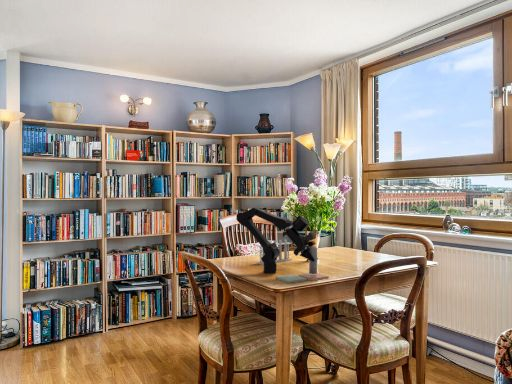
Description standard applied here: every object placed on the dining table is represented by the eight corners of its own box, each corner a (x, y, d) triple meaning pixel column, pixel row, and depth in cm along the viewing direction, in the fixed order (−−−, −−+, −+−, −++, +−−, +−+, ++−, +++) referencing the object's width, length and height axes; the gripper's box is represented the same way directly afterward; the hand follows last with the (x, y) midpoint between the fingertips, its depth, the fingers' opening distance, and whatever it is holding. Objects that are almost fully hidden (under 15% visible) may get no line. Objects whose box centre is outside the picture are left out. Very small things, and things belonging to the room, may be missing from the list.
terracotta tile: (312, 280, 196) (312, 278, 196) (298, 276, 206) (298, 274, 206) (328, 278, 202) (328, 276, 202) (314, 274, 211) (314, 272, 211)
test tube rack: (287, 259, 256) (287, 238, 256) (292, 260, 252) (292, 239, 252) (256, 263, 241) (256, 241, 240) (261, 264, 237) (261, 242, 237)
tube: (308, 273, 203) (308, 245, 202) (310, 271, 206) (310, 244, 206) (316, 274, 201) (316, 246, 201) (317, 272, 205) (317, 244, 205)
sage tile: (288, 283, 191) (288, 281, 191) (275, 278, 200) (275, 276, 200) (306, 280, 197) (306, 278, 197) (292, 276, 206) (292, 274, 206)
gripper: (299, 229, 197) (320, 253, 192) (312, 225, 214) (332, 247, 209) (284, 243, 201) (305, 267, 196) (298, 239, 217) (317, 261, 212)
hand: (315, 260), depth 203 cm, fingers closed on tube, 4 cm apart
